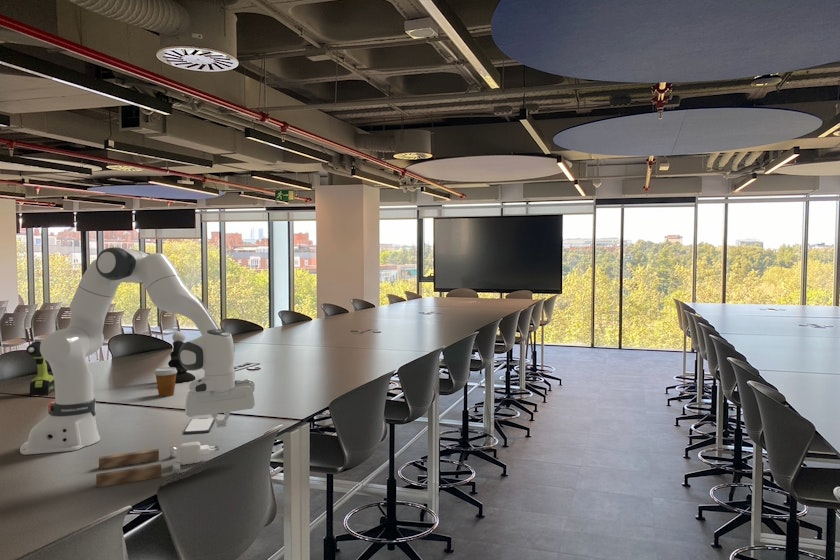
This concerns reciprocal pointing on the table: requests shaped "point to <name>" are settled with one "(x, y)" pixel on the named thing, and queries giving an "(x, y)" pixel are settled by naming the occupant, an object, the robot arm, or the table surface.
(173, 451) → the steel pins
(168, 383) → the disposable coffee cup
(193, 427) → the smartphone
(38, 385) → the cordless drill
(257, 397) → the table surface
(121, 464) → the walnut slot
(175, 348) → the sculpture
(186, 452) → the power adapter
